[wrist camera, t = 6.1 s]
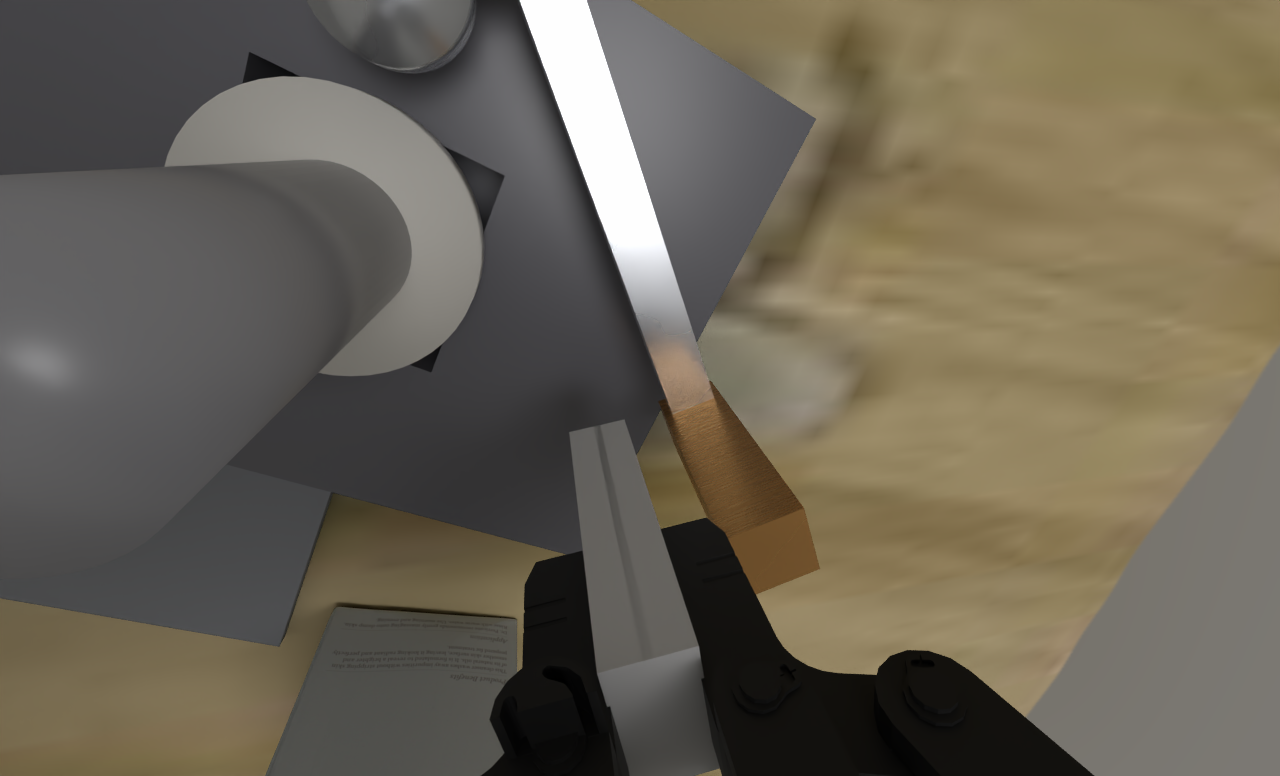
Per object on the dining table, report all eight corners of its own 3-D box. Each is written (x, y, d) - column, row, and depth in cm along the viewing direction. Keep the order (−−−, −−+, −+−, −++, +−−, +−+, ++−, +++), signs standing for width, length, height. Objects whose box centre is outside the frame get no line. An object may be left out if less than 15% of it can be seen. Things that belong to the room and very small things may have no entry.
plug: (244, 270, 17) (-602, 614, 4) (298, 48, 15) (-973, -460, 2) (456, 349, 19) (286, 736, 7) (528, 165, 17) (483, 214, 5)
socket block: (-16, 315, 17) (-271, 392, 12) (36, -320, 12) (-359, -687, 7) (574, 494, 23) (585, 597, 18) (762, 124, 18) (852, 115, 13)
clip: (568, 488, 16) (582, 663, 11) (279, -80, 10) (-35, -353, 4) (725, 426, 16) (820, 568, 11) (531, -177, 10) (522, -562, 5)
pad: (-3, 583, 20) (-18, 595, 20) (21, 354, 17) (5, 361, 17) (285, 635, 24) (279, 646, 23) (347, 449, 21) (342, 457, 20)
